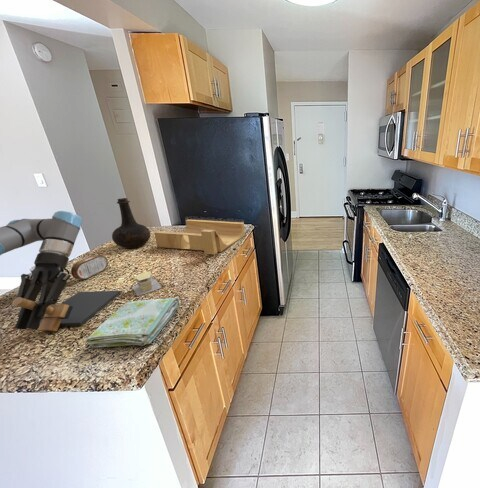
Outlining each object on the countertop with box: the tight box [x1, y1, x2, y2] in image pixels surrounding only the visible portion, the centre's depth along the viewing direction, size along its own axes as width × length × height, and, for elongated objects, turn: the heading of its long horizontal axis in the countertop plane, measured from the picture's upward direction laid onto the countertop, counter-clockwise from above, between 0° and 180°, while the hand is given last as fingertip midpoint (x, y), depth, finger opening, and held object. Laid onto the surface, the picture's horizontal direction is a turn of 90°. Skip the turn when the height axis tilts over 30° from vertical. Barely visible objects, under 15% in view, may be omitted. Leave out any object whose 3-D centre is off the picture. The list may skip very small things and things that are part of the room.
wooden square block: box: [37, 317, 62, 333], centre depth 84 cm, size 4×4×2 cm
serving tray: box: [38, 290, 122, 328], centre depth 96 cm, size 16×20×1 cm
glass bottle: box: [111, 197, 151, 249], centre depth 148 cm, size 18×18×28 cm
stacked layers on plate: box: [131, 271, 163, 297], centre depth 109 cm, size 10×9×6 cm
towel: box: [84, 297, 180, 349], centre depth 86 cm, size 18×21×5 cm
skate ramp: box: [153, 216, 246, 259], centre depth 154 cm, size 40×35×16 cm
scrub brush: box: [12, 297, 73, 319], centre depth 81 cm, size 8×4×14 cm
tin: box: [70, 254, 109, 280], centre depth 118 cm, size 15×3×8 cm, turn 172°
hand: (26, 328), depth 77 cm, fingers closed on scrub brush, 2 cm apart
